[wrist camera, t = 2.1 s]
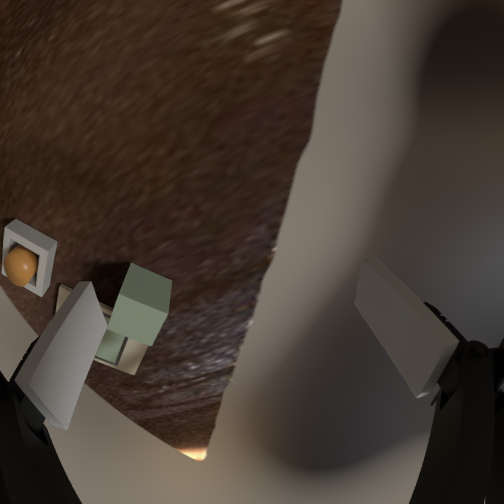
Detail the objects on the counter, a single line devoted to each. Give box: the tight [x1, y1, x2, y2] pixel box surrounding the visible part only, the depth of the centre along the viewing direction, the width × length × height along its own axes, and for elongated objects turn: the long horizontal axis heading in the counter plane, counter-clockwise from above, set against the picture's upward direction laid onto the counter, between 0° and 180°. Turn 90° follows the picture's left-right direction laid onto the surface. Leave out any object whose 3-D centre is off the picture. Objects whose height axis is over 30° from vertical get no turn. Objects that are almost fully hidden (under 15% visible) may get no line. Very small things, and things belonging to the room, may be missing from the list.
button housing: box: [2, 219, 58, 297], centre depth 28 cm, size 8×8×3 cm
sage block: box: [107, 263, 172, 346], centre depth 32 cm, size 6×6×7 cm
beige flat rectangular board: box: [56, 284, 149, 375], centre depth 37 cm, size 16×13×1 cm
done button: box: [3, 244, 39, 287], centre depth 26 cm, size 5×5×3 cm
